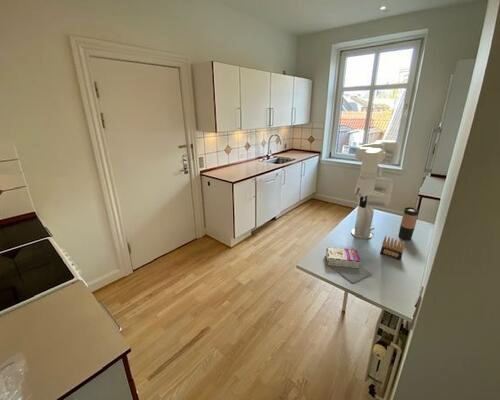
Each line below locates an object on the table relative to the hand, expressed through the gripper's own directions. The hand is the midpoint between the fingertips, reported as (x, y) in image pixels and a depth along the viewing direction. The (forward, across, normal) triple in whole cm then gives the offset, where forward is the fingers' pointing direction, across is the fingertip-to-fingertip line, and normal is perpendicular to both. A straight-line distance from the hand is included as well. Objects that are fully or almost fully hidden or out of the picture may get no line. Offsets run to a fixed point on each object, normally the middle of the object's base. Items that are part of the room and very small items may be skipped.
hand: (362, 206), depth 132 cm
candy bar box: (+26, +8, +9) cm, 29 cm away
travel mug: (+29, -41, +4) cm, 51 cm away
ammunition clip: (+29, -14, +13) cm, 35 cm away
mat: (+29, +16, +10) cm, 35 cm away
